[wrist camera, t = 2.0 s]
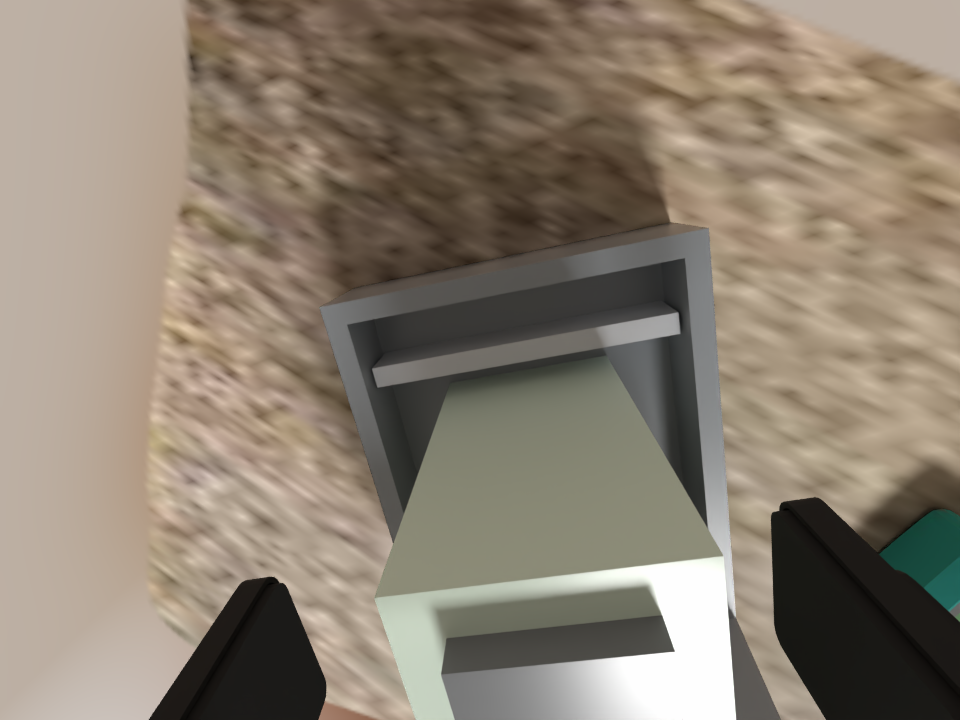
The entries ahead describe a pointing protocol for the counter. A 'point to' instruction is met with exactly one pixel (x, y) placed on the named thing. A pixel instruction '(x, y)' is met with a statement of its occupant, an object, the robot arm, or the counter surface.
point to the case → (543, 350)
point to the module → (554, 562)
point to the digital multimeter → (931, 556)
